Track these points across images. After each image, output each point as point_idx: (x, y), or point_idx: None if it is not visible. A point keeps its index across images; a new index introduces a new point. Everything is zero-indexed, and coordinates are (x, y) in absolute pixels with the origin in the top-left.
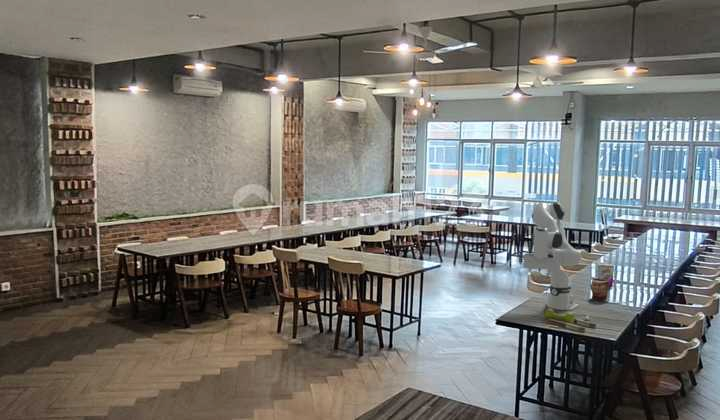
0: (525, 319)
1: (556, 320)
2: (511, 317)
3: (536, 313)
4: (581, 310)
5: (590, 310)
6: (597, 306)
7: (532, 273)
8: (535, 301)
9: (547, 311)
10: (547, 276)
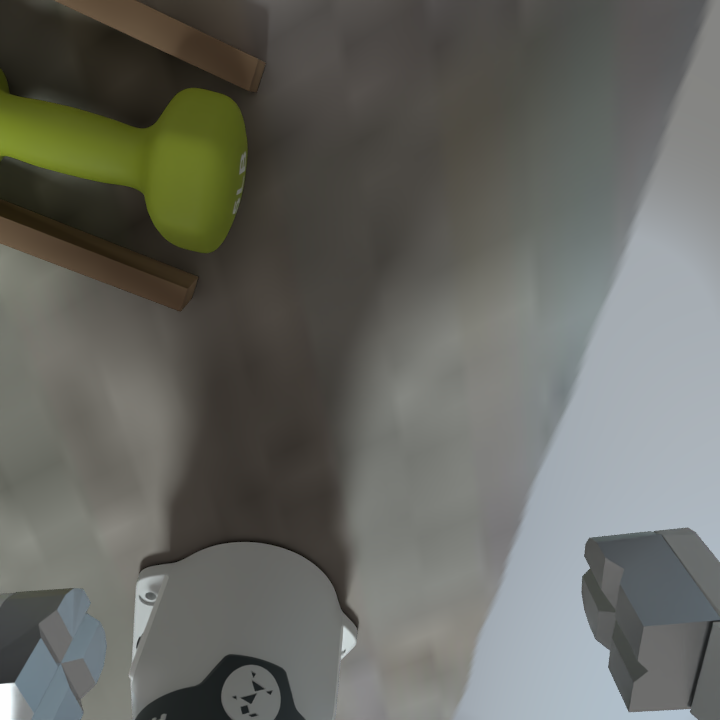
0: (459, 71)
1: (80, 11)
2: (618, 80)
3: (382, 363)
4: None
5: None
6: None
7: (653, 614)
8: (438, 670)
9: (202, 122)
10: (24, 598)
